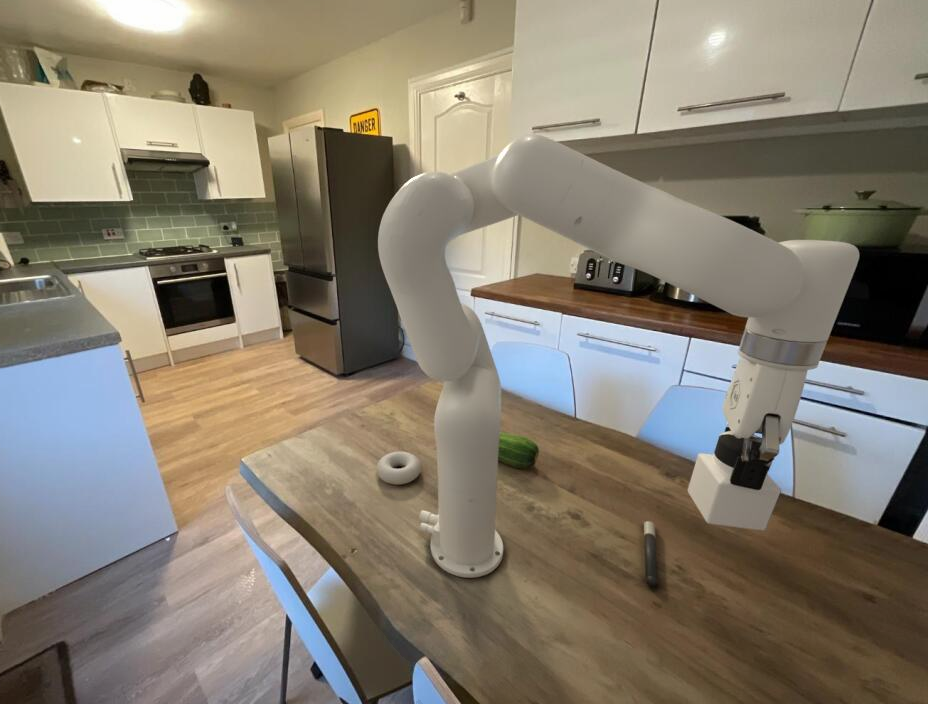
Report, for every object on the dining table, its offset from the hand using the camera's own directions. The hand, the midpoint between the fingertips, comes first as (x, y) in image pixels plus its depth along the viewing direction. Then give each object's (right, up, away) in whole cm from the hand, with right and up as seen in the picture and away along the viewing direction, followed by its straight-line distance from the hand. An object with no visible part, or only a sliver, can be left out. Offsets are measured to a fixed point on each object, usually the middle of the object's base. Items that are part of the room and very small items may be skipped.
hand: (738, 468), depth 56 cm
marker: (-5, -18, +13) cm, 22 cm away
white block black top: (0, -7, +3) cm, 8 cm away
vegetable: (-25, -7, +41) cm, 48 cm away
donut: (-48, -10, +36) cm, 61 cm away
